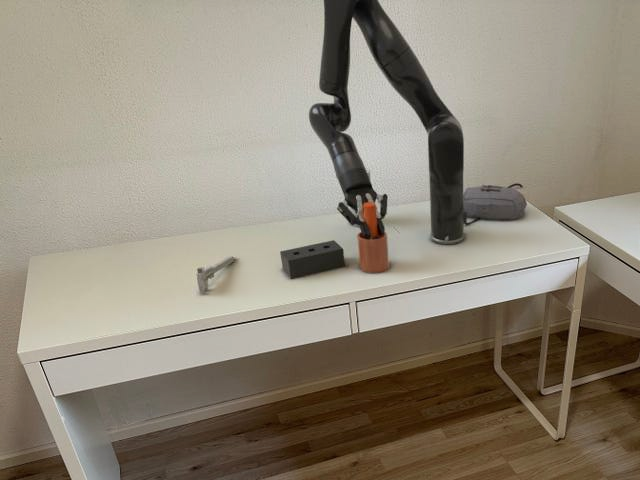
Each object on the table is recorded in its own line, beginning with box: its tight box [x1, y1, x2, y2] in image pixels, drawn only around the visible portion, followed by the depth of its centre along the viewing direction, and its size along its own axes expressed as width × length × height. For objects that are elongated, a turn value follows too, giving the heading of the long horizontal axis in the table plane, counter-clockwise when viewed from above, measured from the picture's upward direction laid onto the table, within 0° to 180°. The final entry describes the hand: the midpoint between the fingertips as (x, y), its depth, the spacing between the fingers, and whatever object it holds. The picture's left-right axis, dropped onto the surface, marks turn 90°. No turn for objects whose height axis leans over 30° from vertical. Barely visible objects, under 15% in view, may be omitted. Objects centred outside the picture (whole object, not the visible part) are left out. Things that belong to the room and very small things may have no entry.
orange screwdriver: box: [363, 202, 378, 240], centre depth 171 cm, size 3×3×15 cm
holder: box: [279, 239, 346, 280], centre depth 174 cm, size 6×14×5 cm, turn 122°
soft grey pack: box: [463, 184, 528, 221], centre depth 207 cm, size 15×8×20 cm
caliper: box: [196, 255, 236, 294], centre depth 169 cm, size 20×1×6 cm, turn 176°
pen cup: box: [356, 231, 390, 274], centre depth 173 cm, size 7×7×9 cm
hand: (375, 235), depth 169 cm, fingers closed on orange screwdriver, 3 cm apart
